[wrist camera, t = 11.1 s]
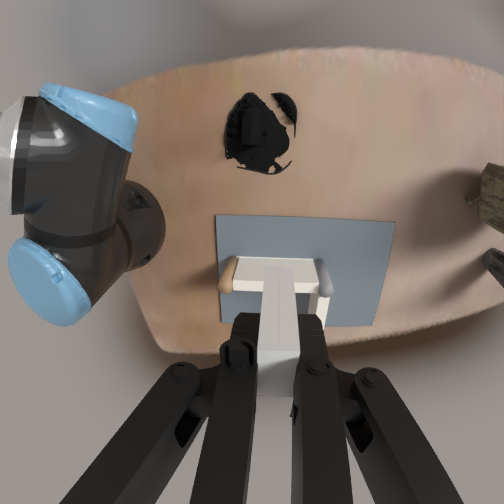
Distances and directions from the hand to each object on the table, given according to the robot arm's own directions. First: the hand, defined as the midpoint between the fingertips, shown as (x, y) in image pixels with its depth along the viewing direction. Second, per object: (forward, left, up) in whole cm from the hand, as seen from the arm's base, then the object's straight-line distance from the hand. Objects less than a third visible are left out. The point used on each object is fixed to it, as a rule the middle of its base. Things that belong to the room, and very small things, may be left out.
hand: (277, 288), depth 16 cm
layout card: (+5, -13, -26) cm, 30 cm away
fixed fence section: (0, -11, -26) cm, 29 cm away
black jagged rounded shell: (-2, +9, -27) cm, 29 cm away
